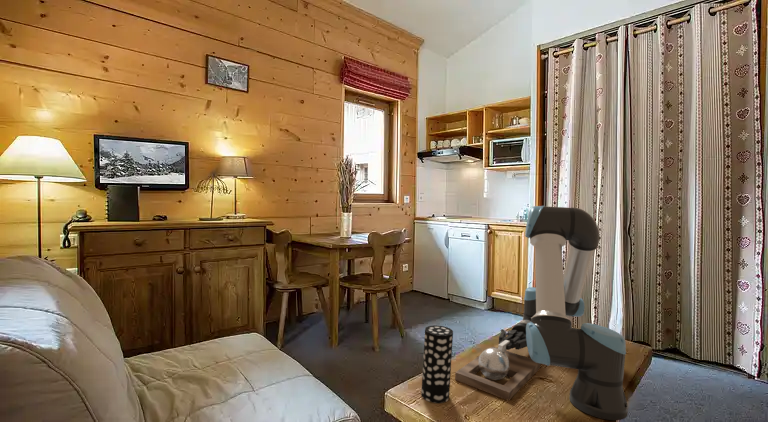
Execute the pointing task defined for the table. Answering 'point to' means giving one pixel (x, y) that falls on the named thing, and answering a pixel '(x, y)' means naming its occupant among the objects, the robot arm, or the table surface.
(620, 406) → the robot arm
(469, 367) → the brown wooden frame
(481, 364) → the steel ball
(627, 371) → the table surface
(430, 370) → the white-spotted black cylinder
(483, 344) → the table surface
